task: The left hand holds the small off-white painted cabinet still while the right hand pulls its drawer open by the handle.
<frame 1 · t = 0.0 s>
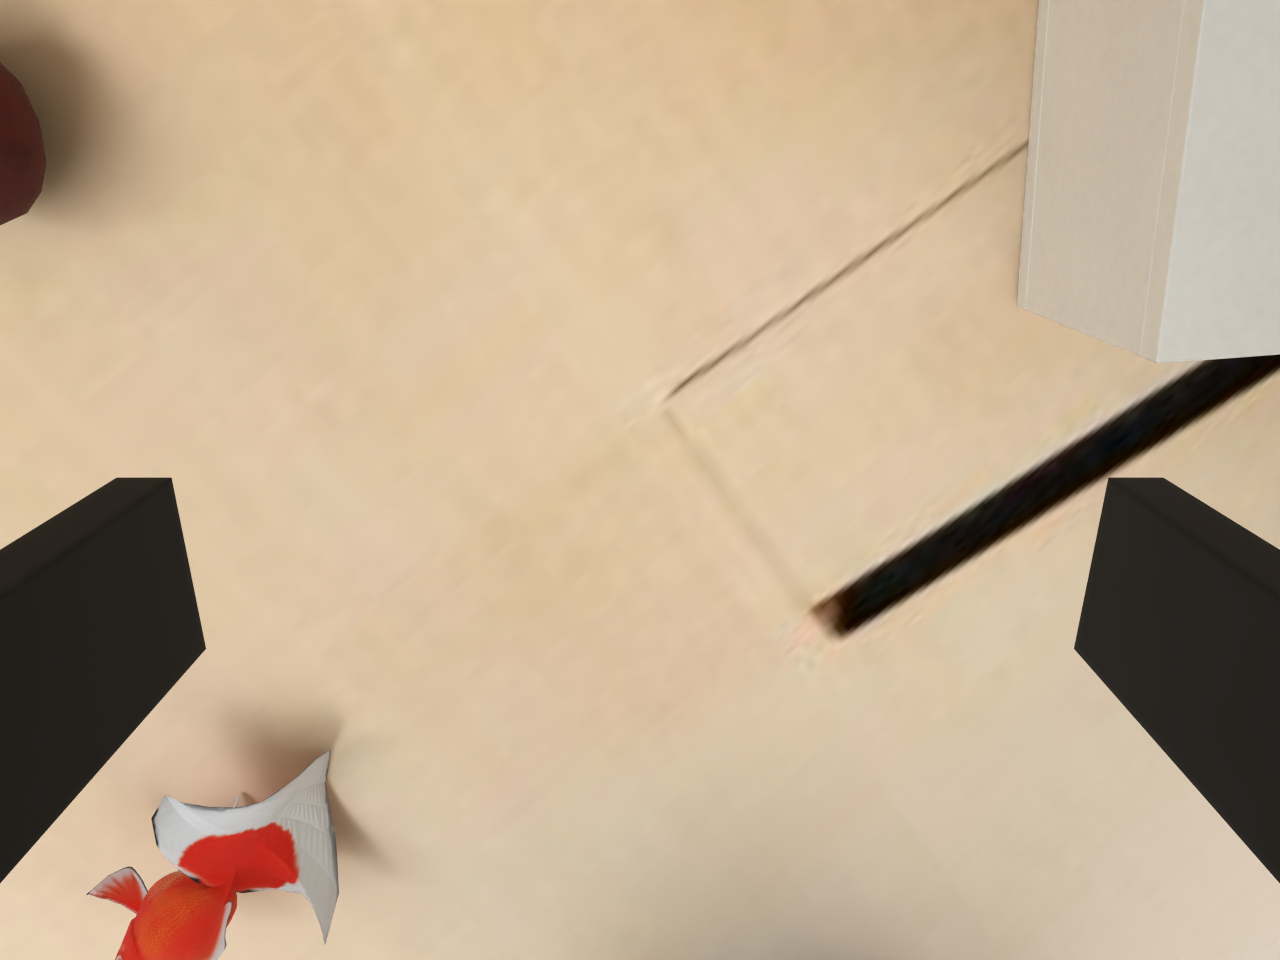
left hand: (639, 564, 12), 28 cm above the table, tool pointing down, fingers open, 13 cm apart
cabinet: (1156, 94, 36), on the table
fish: (254, 813, 49), on the table
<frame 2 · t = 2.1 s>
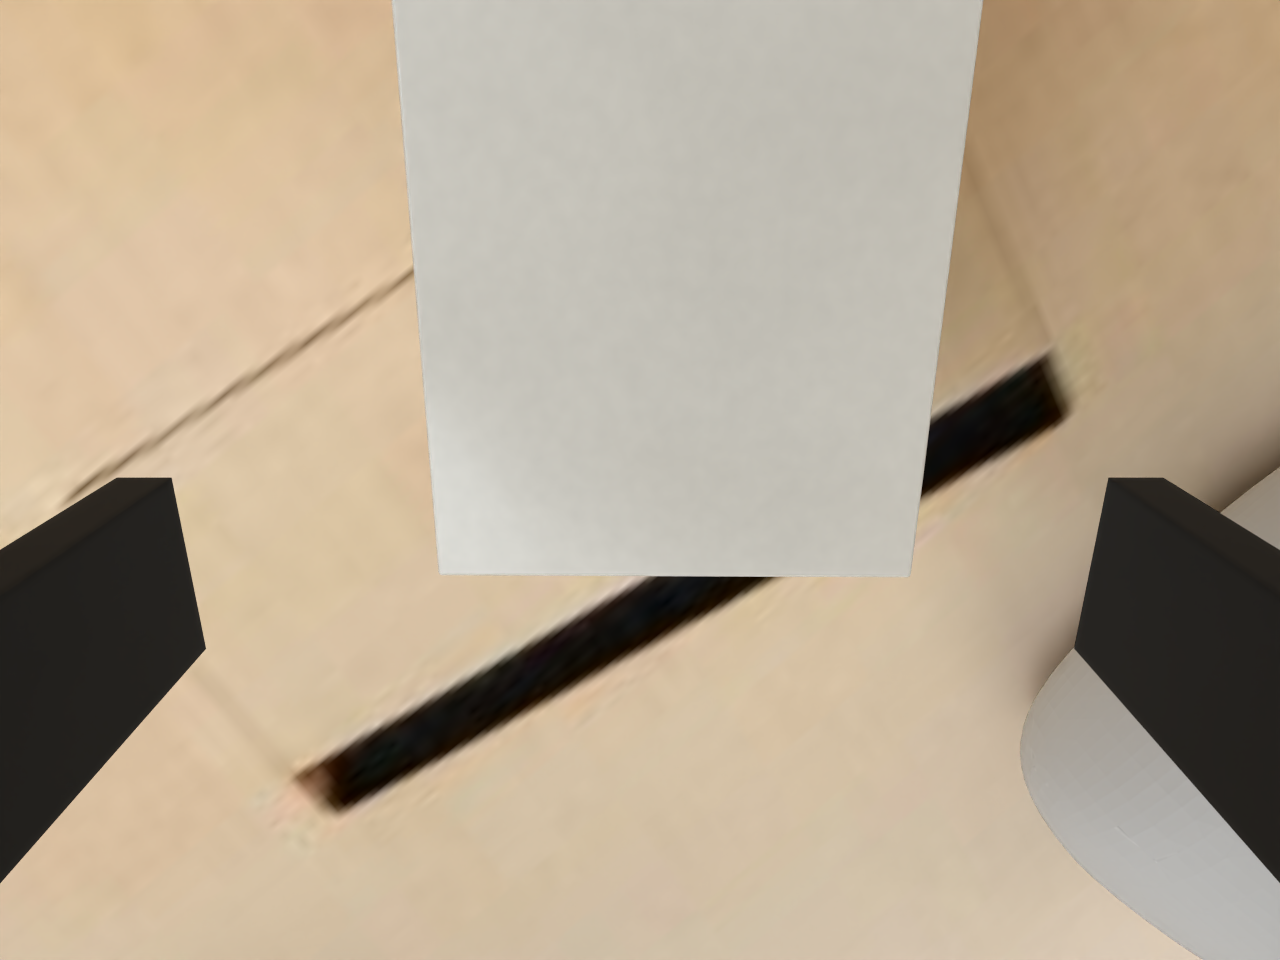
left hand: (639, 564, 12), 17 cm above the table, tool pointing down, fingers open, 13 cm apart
cabinet: (665, 165, 27), on the table
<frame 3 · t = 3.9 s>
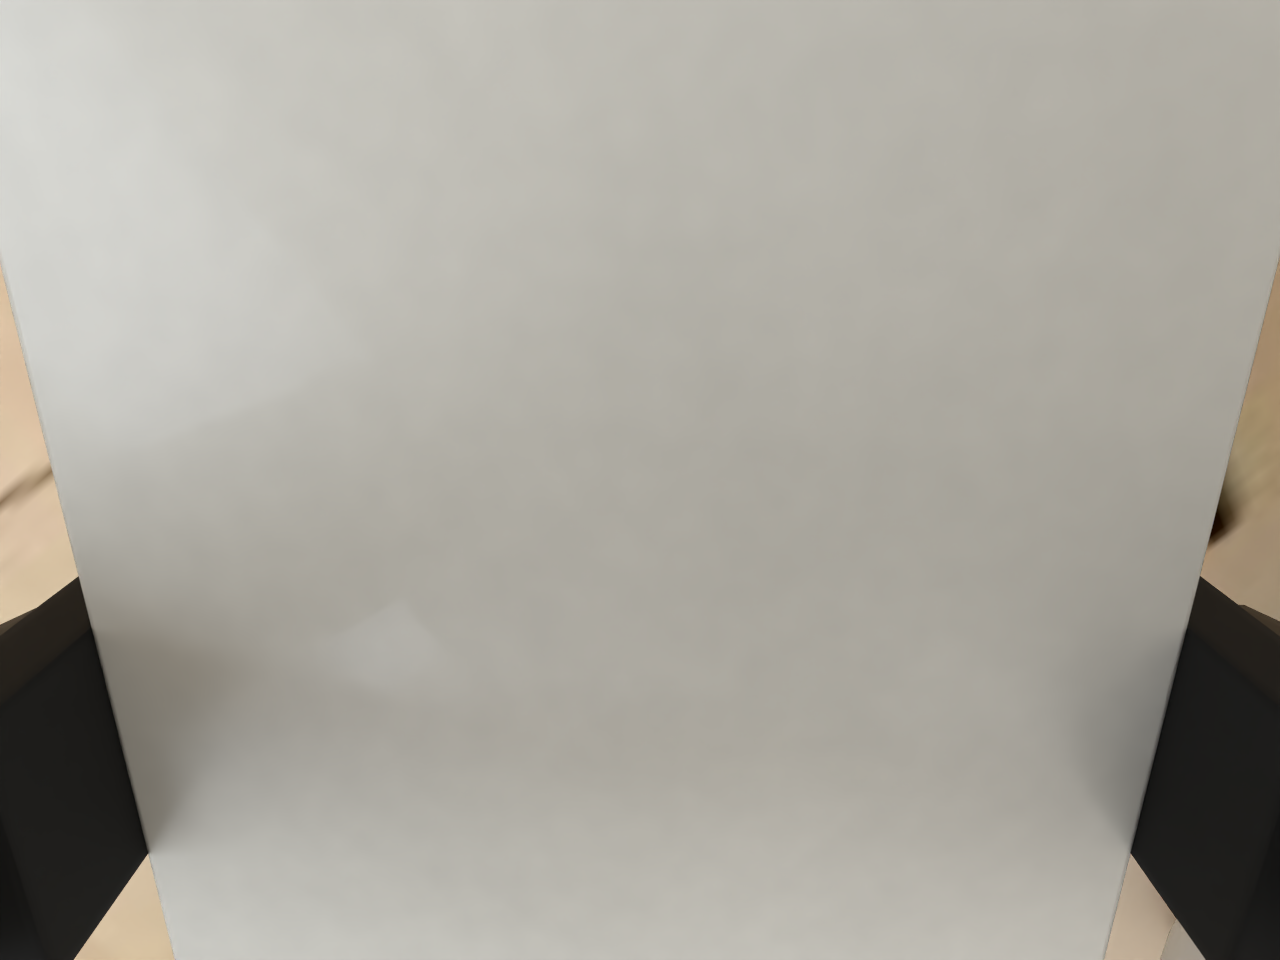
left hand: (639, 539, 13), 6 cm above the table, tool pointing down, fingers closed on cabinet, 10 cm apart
cabinet: (639, 164, 17), on the table, touching left hand
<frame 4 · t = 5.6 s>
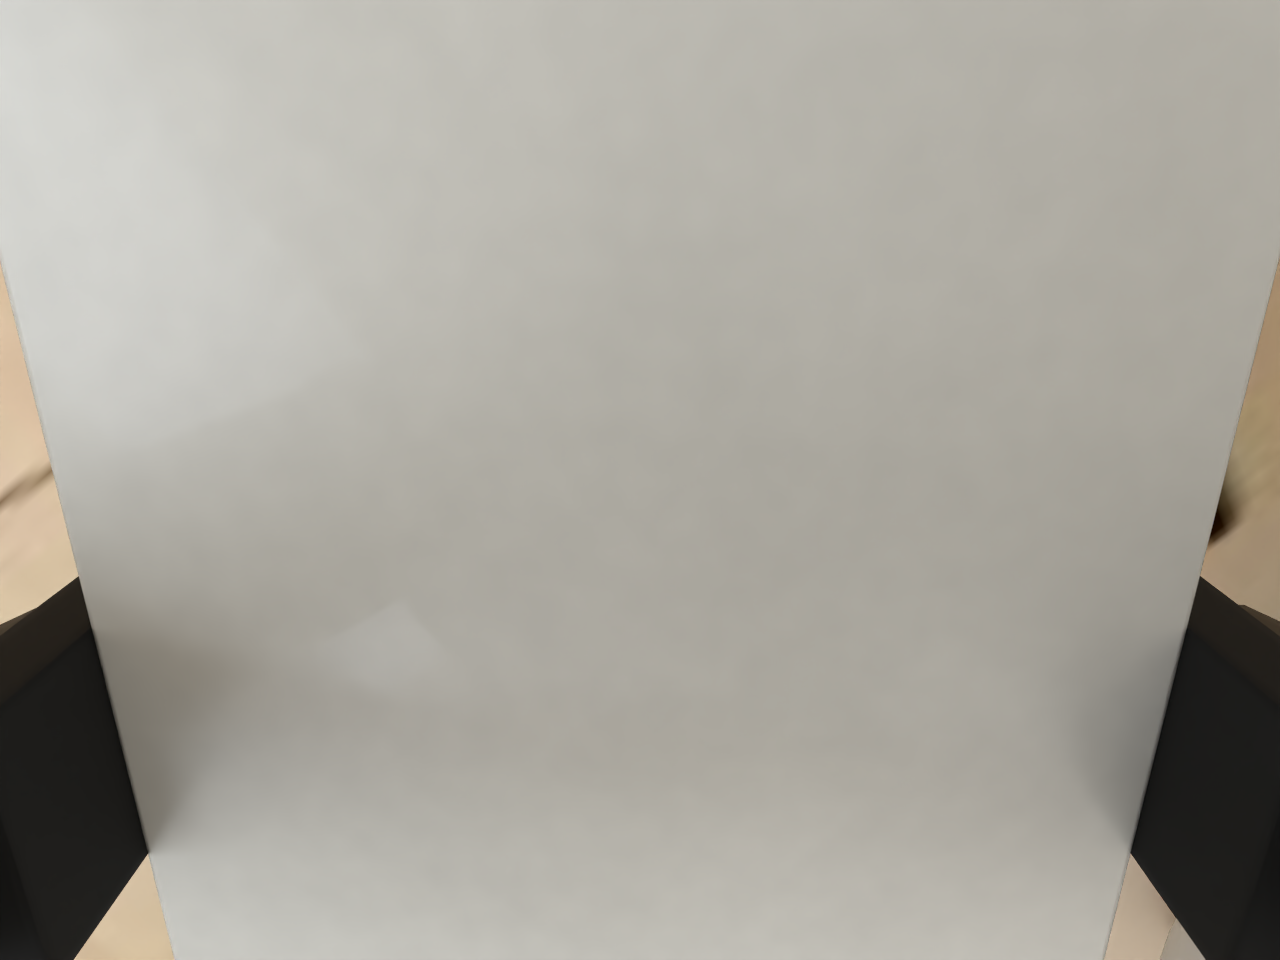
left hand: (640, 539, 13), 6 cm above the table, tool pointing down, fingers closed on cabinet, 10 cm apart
cabinet: (639, 164, 17), on the table, touching left hand
when the left hand's fingers open (6 cm above the table, at t = 8.5 s): cabinet stays where it is, on the table.
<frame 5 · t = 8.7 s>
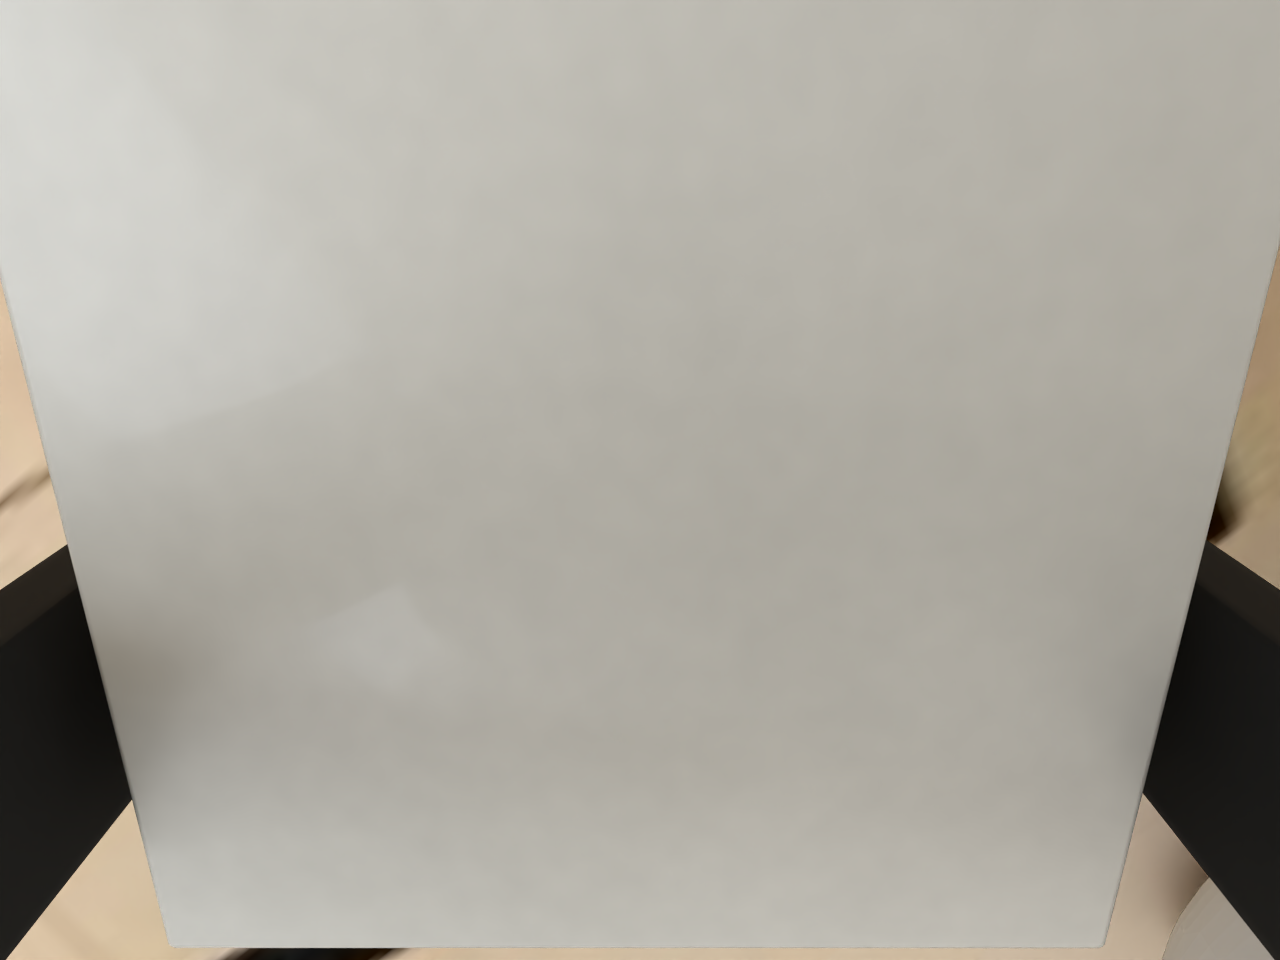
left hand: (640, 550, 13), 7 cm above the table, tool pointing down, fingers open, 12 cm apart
cabinet: (638, 145, 17), on the table
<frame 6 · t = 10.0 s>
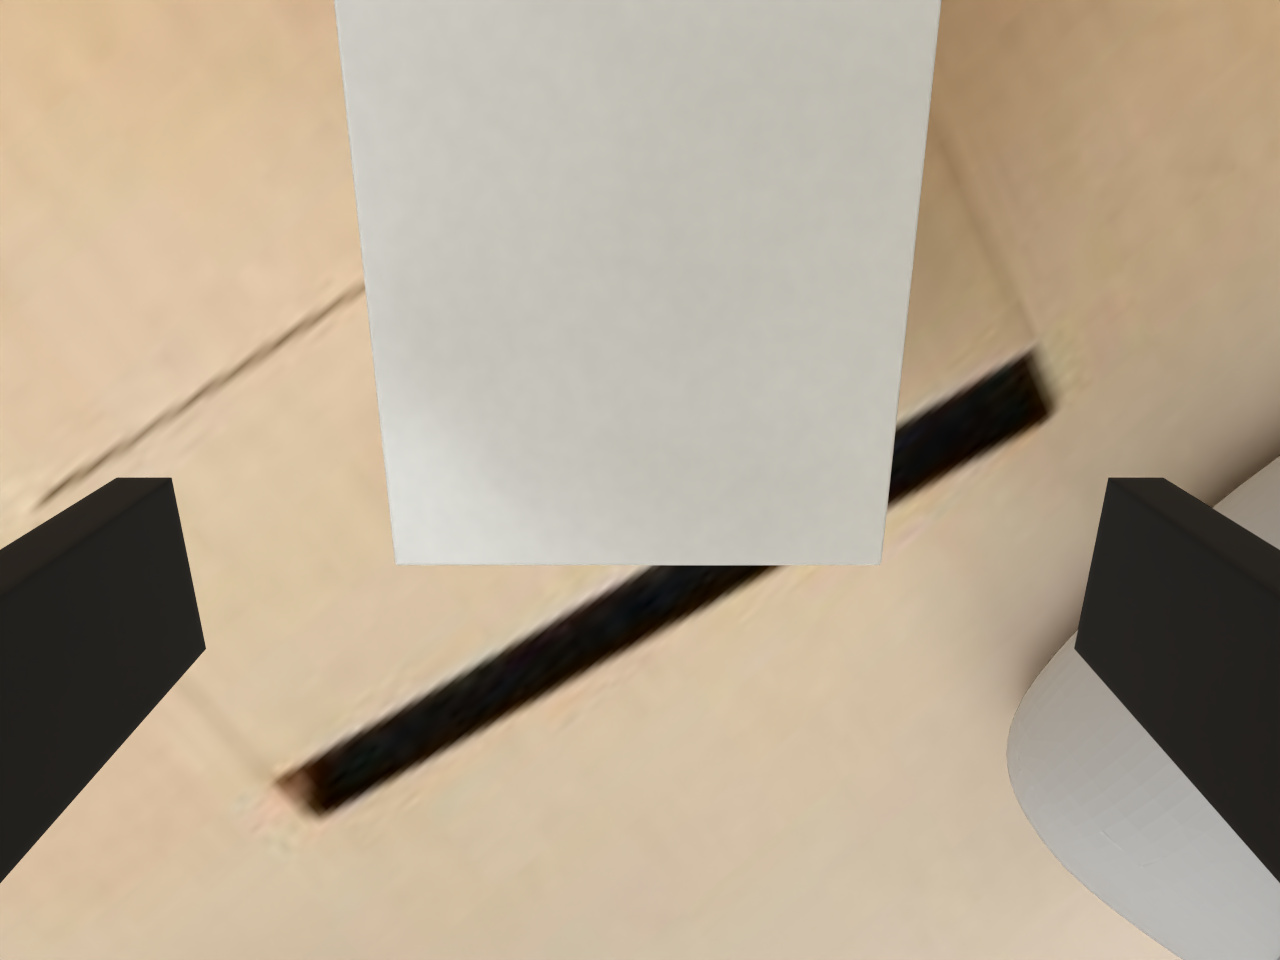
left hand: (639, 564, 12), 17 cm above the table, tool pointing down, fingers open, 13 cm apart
cabinet: (638, 148, 26), on the table
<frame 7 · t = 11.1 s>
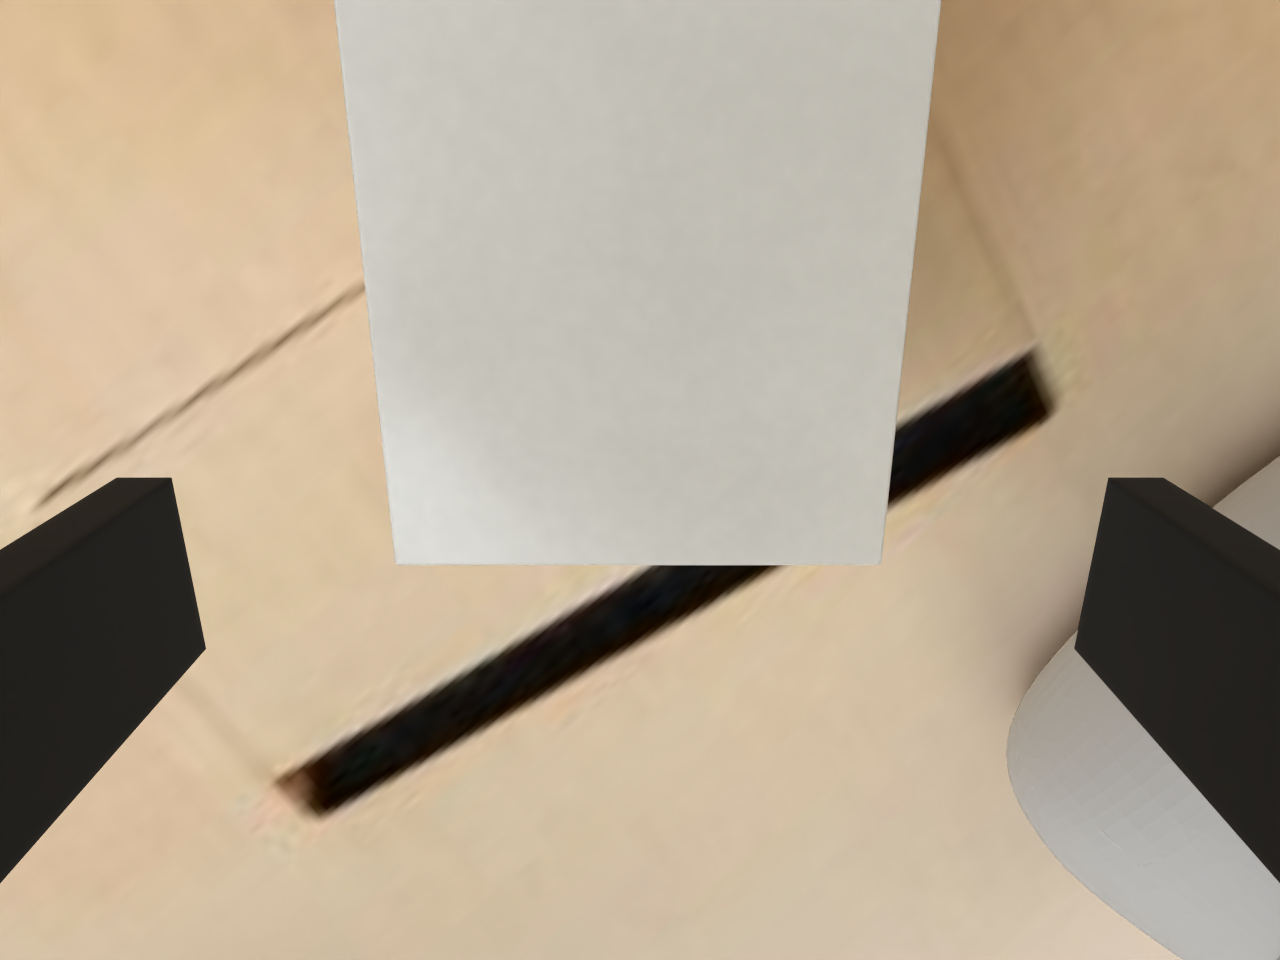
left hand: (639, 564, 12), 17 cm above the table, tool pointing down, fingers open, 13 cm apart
cabinet: (638, 148, 26), on the table
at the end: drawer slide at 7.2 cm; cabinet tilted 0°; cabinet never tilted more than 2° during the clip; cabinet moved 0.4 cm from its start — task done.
